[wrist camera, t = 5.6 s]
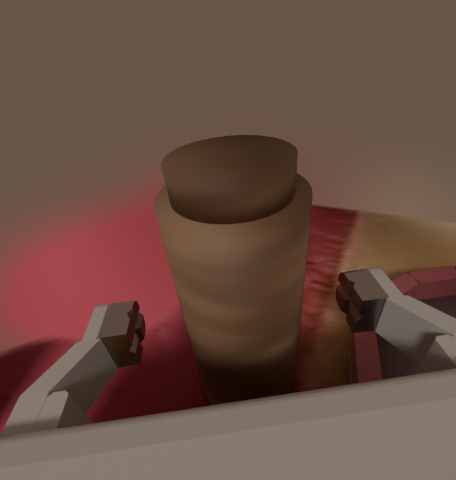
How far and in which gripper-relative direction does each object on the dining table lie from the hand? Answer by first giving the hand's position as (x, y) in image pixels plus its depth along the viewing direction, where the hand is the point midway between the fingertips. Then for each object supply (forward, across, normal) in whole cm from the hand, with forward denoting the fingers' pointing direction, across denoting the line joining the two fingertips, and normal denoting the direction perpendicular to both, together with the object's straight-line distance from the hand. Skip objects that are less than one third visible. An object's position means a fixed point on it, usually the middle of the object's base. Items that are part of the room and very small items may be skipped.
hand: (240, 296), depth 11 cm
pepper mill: (0, 0, +6) cm, 7 cm away
